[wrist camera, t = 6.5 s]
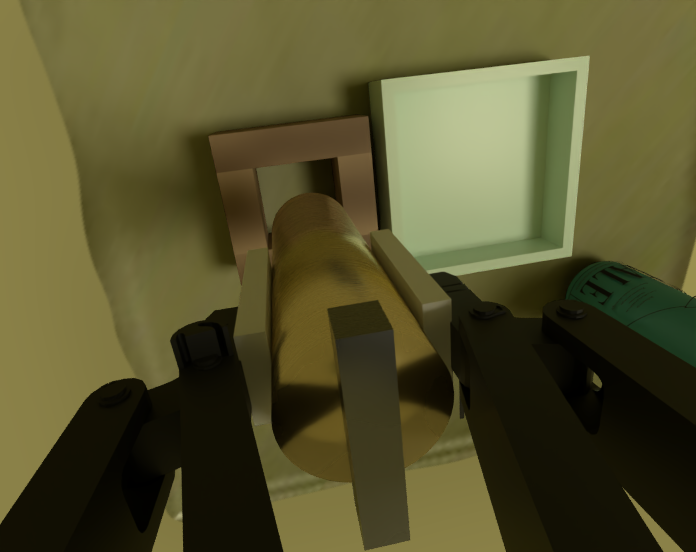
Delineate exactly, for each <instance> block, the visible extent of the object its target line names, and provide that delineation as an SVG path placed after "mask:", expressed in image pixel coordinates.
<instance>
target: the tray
mask: <svg viewBox="0 0 696 552" xmlns="http://www.w3.org/2000/svg"><path fill="white" fill-rule="evenodd" d="M589 59H590V56H583V57H574V58H566V59H557V60H548V61H540V62H531V63H523V64H514V65H506V66H497V67H488V68H480V69H471V70H463V71H454V72H446V73H437V74H428V75H420V76H411V77H403V78H394V79H385V80H379V81H374V82H369V83H368V87H369V99H370V111H371V122H372V134H373V146H374V158H375V170H376V182H377V194H378V205H379V217H380V229H381V230H384V229H389V230H390V231H391V232H392V233H393V234H394V235H395V237H396V238H397V239H398V240H399V241H400V242H401V243H402V244H403V246H404V247H405V248H406V249H407V250H408V251H409V252H410V253H411V254H412V256H413V257H414V258H415V259H416V260H417V261H418V262H419V263H420V265H421V266H422V267H423V268H424V269H425V270H426V271H427V272H428V274H431V273H437V272H447V273H449V274H452V275H454V276H457V275H463V274H469V273H475V272H480V271H486V270H492V269H498V268H504V267H510V266H516V265H522V264H528V263H534V262H540V261H546V260H552V259H558V258H564V257H570V256H572V246H573V235H574V224H575V213H576V202H577V191H578V180H579V169H580V158H581V147H582V136H583V125H584V114H585V103H586V92H587V81H588V70H589Z"/></svg>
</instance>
